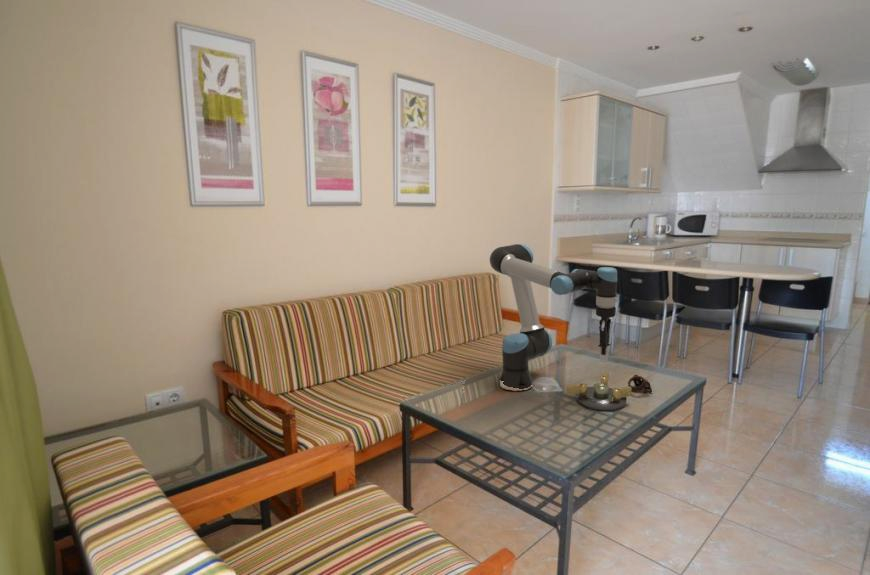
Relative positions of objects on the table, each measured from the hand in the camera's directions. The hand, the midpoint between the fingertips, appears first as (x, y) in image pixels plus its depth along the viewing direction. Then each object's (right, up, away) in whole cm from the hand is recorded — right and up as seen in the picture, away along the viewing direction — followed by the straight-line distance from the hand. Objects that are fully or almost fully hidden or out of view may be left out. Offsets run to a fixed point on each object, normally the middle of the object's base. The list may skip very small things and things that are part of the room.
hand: (603, 361), depth 196 cm
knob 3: (+7, -16, -2) cm, 17 cm away
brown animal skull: (+19, -15, +11) cm, 27 cm away
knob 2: (+5, -13, +12) cm, 18 cm away
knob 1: (-10, -15, +3) cm, 19 cm away
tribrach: (0, -17, +4) cm, 18 cm away
